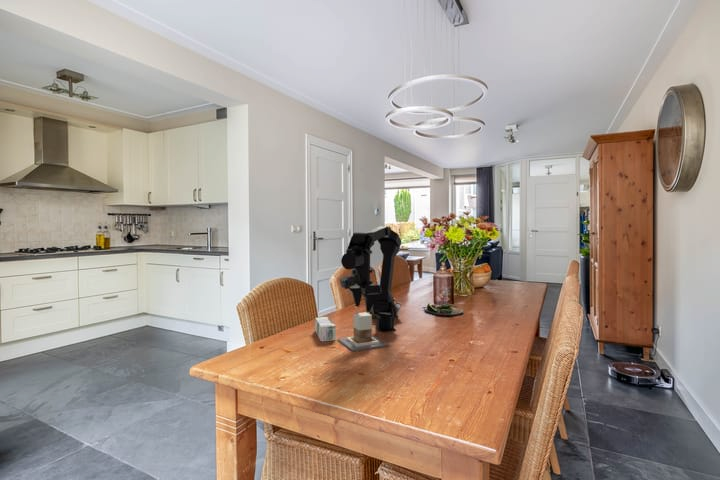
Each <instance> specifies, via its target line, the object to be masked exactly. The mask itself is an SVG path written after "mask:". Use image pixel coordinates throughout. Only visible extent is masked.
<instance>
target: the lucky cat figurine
mask: <svg viewBox="0 0 720 480" xmlns="http://www.w3.org/2000/svg"><path fill="white" fill-rule="evenodd" d="M394 304H395V306H396V308H397V316H398V315H399V311H400V310H401V308H402V302H400V301H397V299H396V298H395V297H394ZM369 314H370V315H372V318H374V317H375V319H376V318H377V315H374V312H373V306H372V308H371V310H370V312H369Z"/></svg>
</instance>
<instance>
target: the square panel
mask: <svg viewBox="0 0 720 480" xmlns="http://www.w3.org/2000/svg"><path fill="white" fill-rule="evenodd" d="M337 341H338V342H340V343H341V344H342V345H344V346H345V347H346V348H347V349H349V350H350V351H351V352H353V353H354V352H359V351H366V350H372V349H379V348H385V347H389V346H390V345H389V343H387V342H385V340H382V339H381V338H379V337H377V336H375V335H374V334H372V342H365V343H357V342H355V341H354V336H349V337H341V338H337Z"/></svg>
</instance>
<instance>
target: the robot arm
mask: <svg viewBox="0 0 720 480" xmlns="http://www.w3.org/2000/svg"><path fill="white" fill-rule="evenodd" d="M399 235H400V234H398V232H396V231H394V230H393V229H392V227H391V226H390V225H389V226H388V225H378V226H377V227H375V228H372V229H370V230H368V231H356V232H353V233H352V236H351V237H350V240H349V243H348V245H347V249H346V250H345V253H344V254H343V255H342V257H341V260H340V262H341V265H342V267H343V268H344V269H346V270H351V273H349V274H347V275H345V276H343V277H340V278H339V279H338V280H339V283H340V286H341V288H343V289H345V290H348V291H349V292H351V295H352V298H353V302H354V304H355V305H354V306H355V307H356V308H359V307H360V304H361V302H362V297H363V298H364V301H365V302H364V303H365V305H364V306H365V310H366V311H365V312H366V313H370V310H371V308H372V306H373V312H374V315H377V318H375V329H376V330H377V331H379V332H380V333H385V332H393V331H394V332H395V331H397V329H396V327H395V317H398V315H397V308H396V306H395V304H394V298H395V297H394V296H393V293H392V285H393V284H392V283H393V274H394V268H395V267H394V266H395V258H396V256H397V254H399V252H400V249H401V248H400V247H401V246H402V238H401V237H400V236H399ZM376 241H377V242H378V243H379V245H380V246H379V247H380V248H379V249H380V251H381V253H382V261H381V264H382V265H381V270H380V271H381V272H380V281H379V284H377V283H373V280H371V273H373V269H371V254H373V250H371V248H372V247H373V246H374V245H375V242H376Z"/></svg>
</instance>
